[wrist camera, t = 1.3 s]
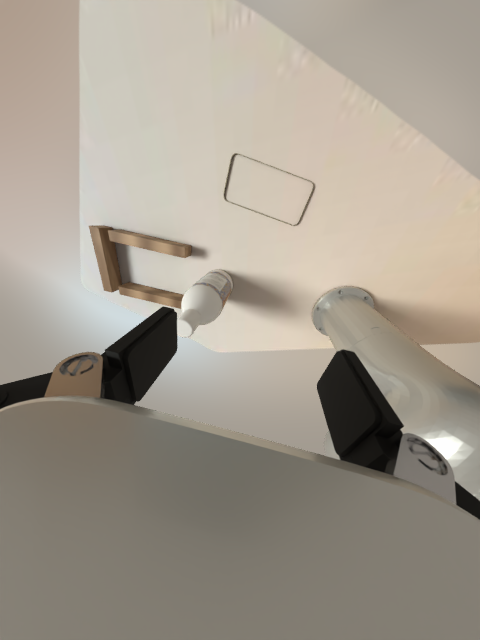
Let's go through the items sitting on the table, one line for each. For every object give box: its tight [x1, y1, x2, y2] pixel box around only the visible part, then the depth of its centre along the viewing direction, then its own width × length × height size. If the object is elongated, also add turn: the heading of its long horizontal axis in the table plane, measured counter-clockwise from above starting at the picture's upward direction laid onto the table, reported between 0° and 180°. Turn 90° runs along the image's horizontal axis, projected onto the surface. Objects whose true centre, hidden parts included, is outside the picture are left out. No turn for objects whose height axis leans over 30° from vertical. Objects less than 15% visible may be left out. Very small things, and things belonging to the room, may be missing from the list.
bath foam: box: [177, 270, 233, 338], centre depth 31 cm, size 7×7×20 cm
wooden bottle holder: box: [89, 226, 192, 309], centre depth 39 cm, size 20×14×4 cm
